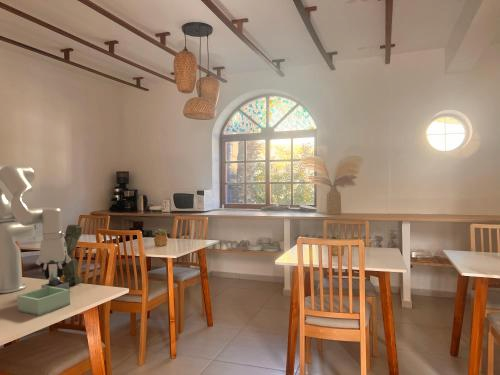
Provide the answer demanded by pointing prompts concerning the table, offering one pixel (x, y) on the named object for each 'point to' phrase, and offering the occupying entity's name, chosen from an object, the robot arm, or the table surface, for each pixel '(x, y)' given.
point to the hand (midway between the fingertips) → (54, 277)
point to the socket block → (62, 285)
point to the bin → (43, 300)
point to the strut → (53, 273)
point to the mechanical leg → (71, 268)
